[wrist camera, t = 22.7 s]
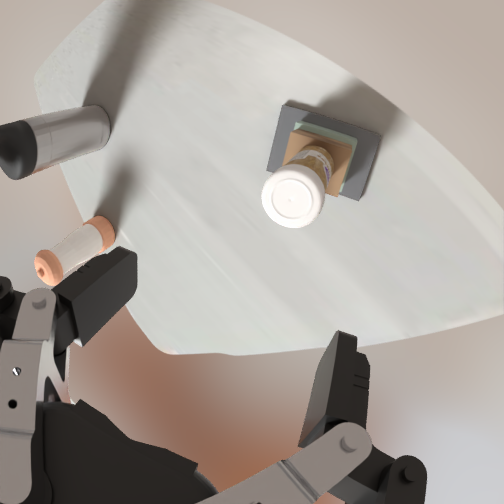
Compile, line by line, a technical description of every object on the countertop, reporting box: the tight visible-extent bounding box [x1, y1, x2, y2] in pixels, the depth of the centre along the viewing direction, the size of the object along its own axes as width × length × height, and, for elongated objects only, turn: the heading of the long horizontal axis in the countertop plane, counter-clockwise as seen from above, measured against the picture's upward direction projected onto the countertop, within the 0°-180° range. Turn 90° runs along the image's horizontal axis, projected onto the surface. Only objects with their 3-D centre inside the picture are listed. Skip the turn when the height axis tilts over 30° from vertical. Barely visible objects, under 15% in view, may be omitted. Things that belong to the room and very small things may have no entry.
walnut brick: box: [282, 128, 352, 197], centre depth 35 cm, size 7×6×5 cm
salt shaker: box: [35, 216, 115, 286], centre depth 54 cm, size 7×7×19 cm
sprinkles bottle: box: [262, 146, 334, 228], centre depth 28 cm, size 5×5×13 cm
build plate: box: [266, 105, 381, 201], centre depth 40 cm, size 14×10×5 cm
